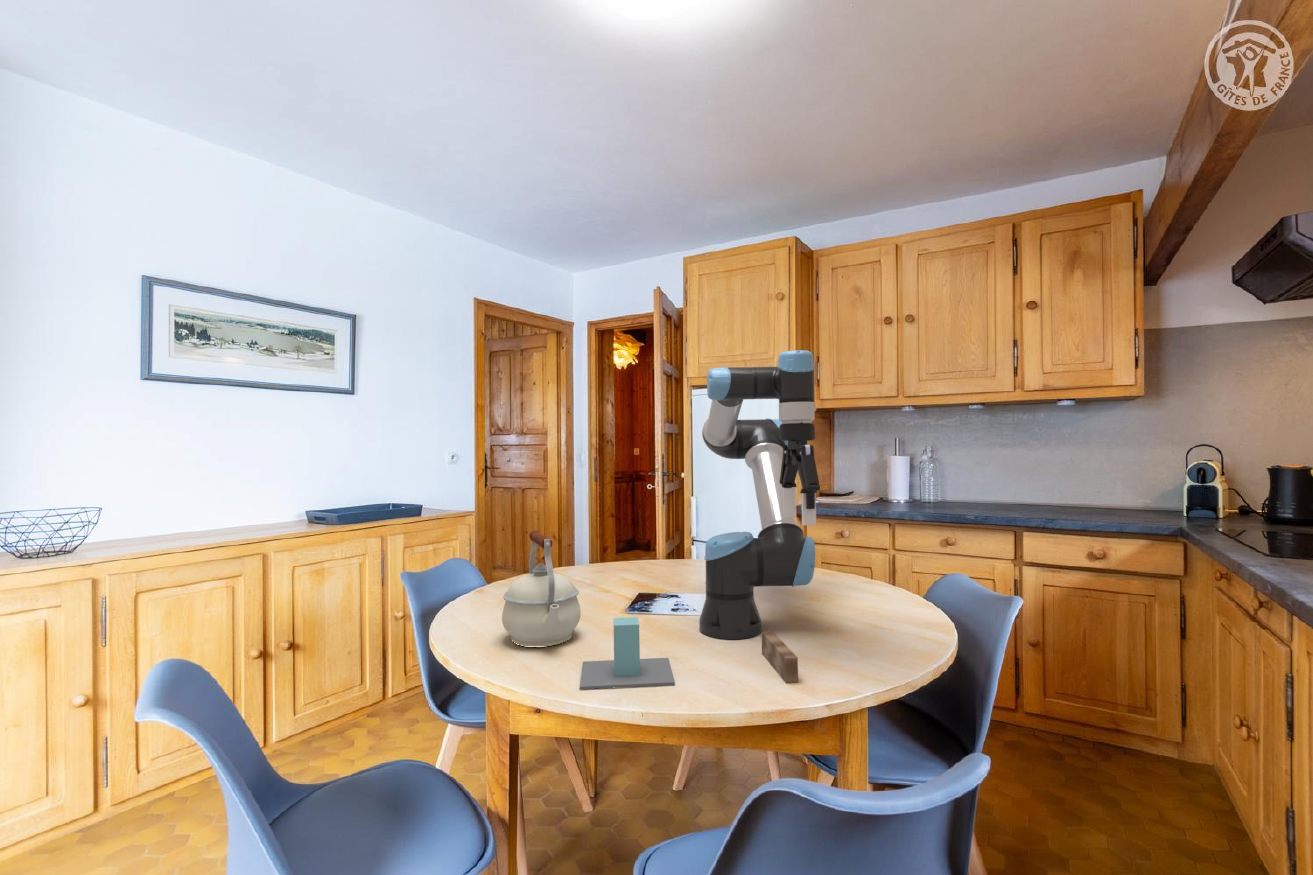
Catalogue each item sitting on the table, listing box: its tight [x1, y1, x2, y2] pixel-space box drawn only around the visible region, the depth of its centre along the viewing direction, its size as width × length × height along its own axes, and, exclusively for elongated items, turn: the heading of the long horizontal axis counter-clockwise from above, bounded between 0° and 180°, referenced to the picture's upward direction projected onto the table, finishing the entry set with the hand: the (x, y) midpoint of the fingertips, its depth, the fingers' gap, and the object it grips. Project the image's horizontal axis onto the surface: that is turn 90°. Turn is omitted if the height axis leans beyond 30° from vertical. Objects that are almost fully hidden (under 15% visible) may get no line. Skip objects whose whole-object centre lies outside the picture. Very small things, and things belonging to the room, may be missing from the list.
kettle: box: [501, 530, 581, 647], centre depth 141 cm, size 25×18×25 cm
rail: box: [761, 630, 799, 684], centre depth 122 cm, size 16×2×5 cm, turn 6°
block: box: [612, 616, 641, 677], centre depth 120 cm, size 5×5×10 cm
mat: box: [579, 657, 676, 690], centre depth 119 cm, size 13×18×1 cm
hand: (798, 520), depth 129 cm, fingers open, 13 cm apart
